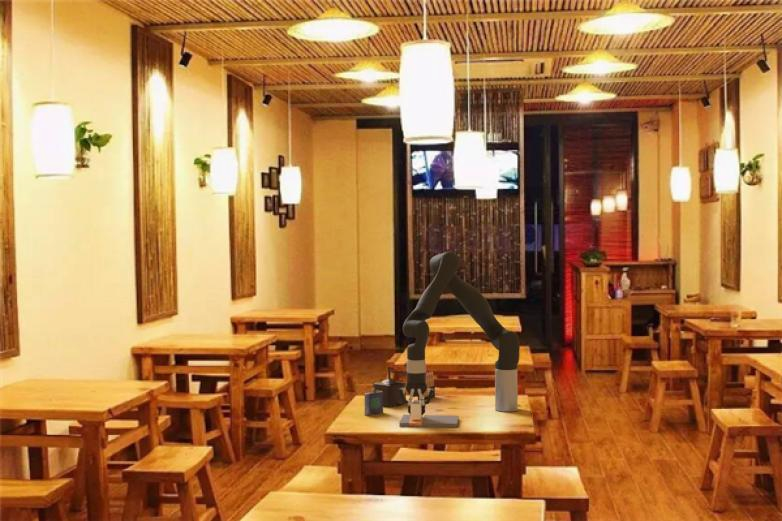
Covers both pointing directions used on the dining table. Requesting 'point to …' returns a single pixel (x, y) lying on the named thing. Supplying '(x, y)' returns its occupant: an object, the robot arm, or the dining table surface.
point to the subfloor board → (430, 421)
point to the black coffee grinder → (391, 389)
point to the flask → (373, 402)
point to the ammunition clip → (429, 385)
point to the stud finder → (416, 410)
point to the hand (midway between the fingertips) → (416, 414)
